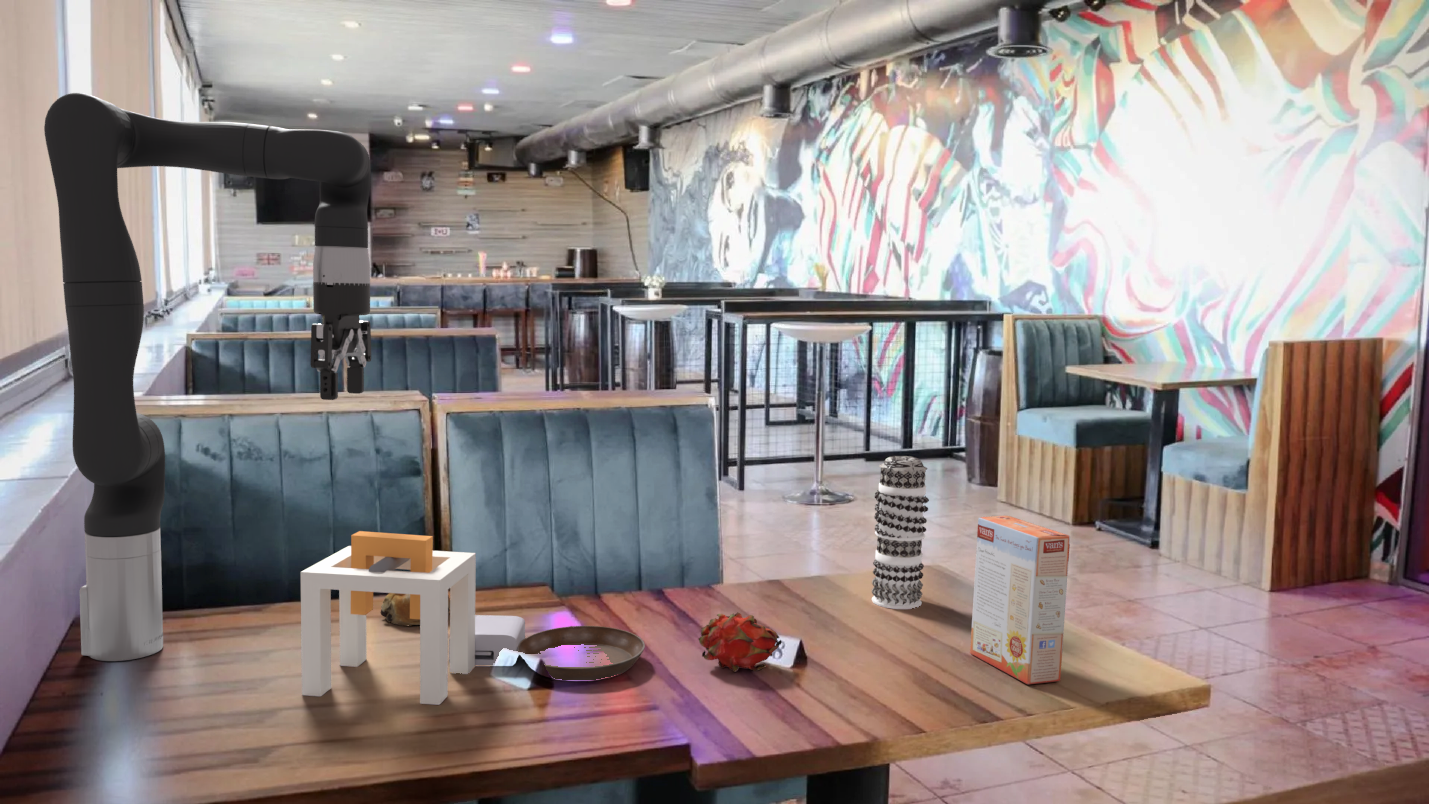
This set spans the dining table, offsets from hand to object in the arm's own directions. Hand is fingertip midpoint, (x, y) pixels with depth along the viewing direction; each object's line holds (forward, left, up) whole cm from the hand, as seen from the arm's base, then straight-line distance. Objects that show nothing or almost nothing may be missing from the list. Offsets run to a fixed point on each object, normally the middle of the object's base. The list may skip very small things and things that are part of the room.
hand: (342, 396), depth 156 cm
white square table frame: (+12, -12, -36) cm, 40 cm away
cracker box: (+96, +9, -36) cm, 103 cm away
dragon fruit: (+57, +2, -36) cm, 68 cm away
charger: (+21, +3, -37) cm, 42 cm away
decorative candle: (+81, +39, -36) cm, 97 cm away
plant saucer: (+35, -1, -37) cm, 51 cm away
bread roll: (+5, +15, -36) cm, 40 cm away
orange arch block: (+12, -12, -27) cm, 32 cm away
